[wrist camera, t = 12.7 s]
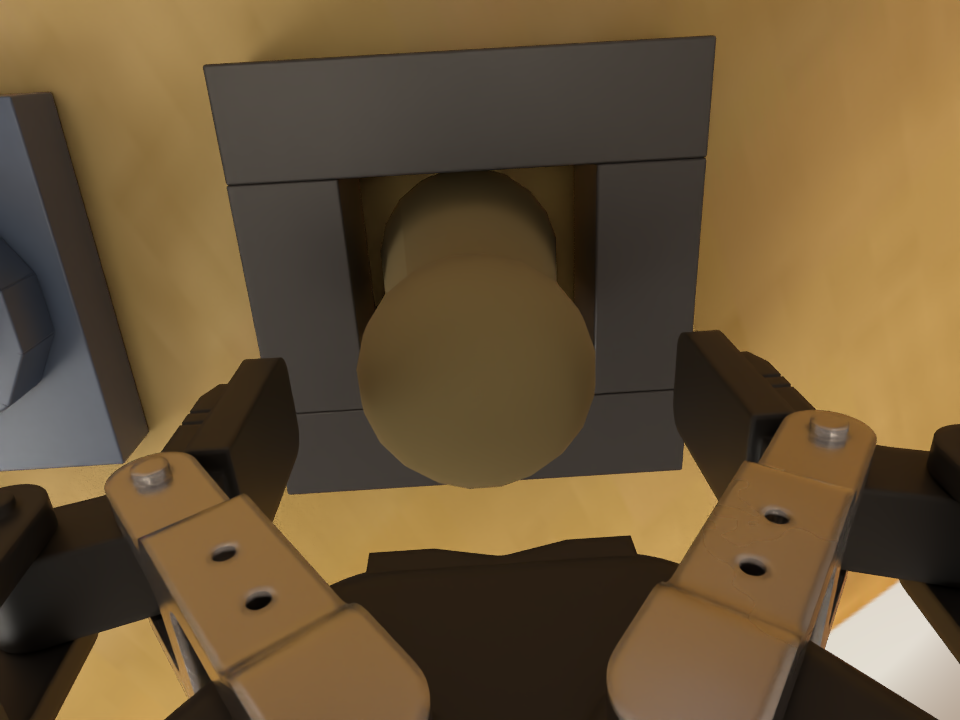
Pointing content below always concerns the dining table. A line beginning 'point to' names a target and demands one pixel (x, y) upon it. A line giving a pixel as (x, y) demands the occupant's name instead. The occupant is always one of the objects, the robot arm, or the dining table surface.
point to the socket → (459, 148)
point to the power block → (55, 309)
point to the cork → (474, 336)
